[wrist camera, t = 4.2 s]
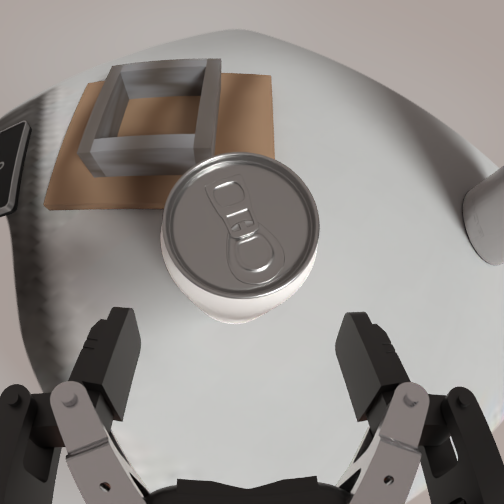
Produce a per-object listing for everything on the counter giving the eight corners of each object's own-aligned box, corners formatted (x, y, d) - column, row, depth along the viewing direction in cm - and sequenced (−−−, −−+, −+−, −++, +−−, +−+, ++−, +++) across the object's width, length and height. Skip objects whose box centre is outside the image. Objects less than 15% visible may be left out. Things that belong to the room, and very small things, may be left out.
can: (209, 337, 21) (187, 342, 9) (177, 256, 22) (131, 175, 10) (291, 303, 22) (360, 267, 10) (257, 226, 23) (284, 126, 12)
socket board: (269, 83, 28) (276, 47, 23) (273, 211, 24) (285, 181, 19) (91, 90, 26) (77, 59, 21) (49, 210, 22) (20, 186, 17)
